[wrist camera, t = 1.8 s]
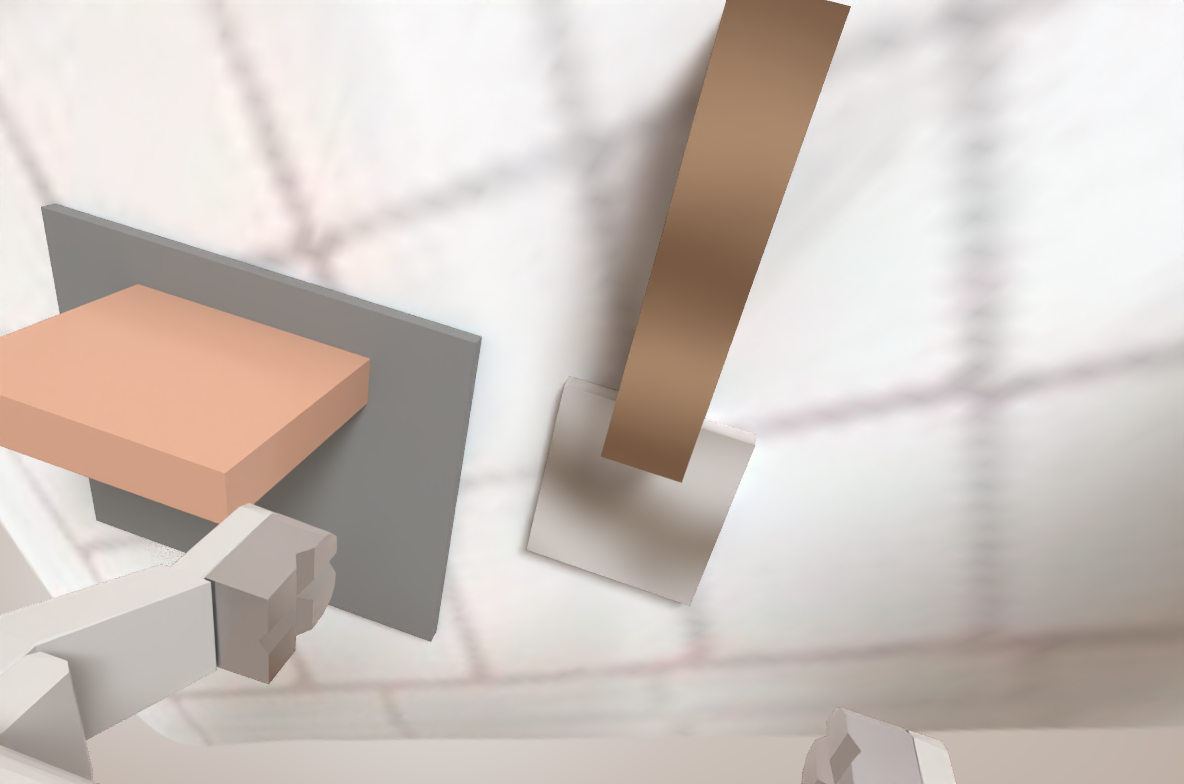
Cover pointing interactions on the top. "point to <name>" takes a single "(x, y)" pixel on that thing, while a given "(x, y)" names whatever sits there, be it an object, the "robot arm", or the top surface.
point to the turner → (689, 320)
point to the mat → (344, 460)
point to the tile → (173, 398)
